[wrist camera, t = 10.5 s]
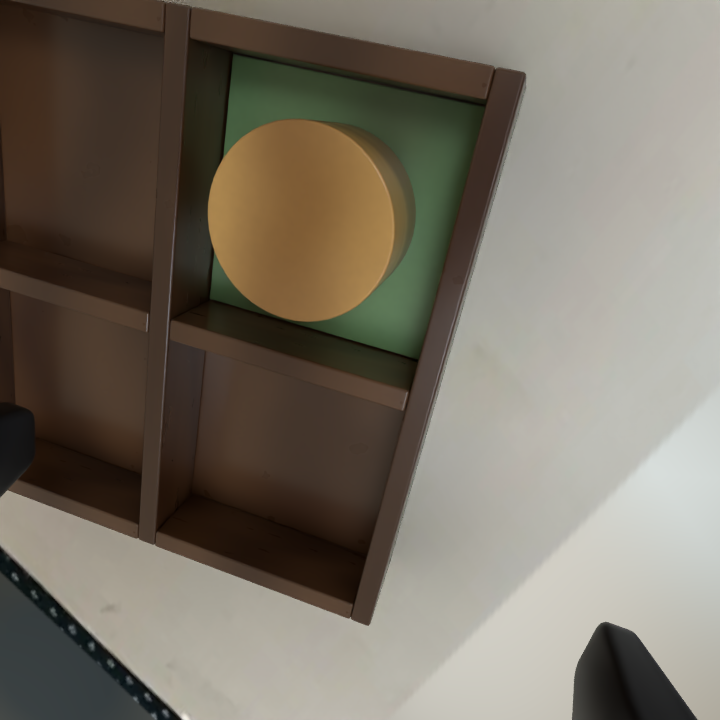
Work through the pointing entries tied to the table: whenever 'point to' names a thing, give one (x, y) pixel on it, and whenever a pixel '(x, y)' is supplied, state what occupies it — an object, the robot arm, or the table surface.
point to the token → (310, 217)
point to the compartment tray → (225, 286)
